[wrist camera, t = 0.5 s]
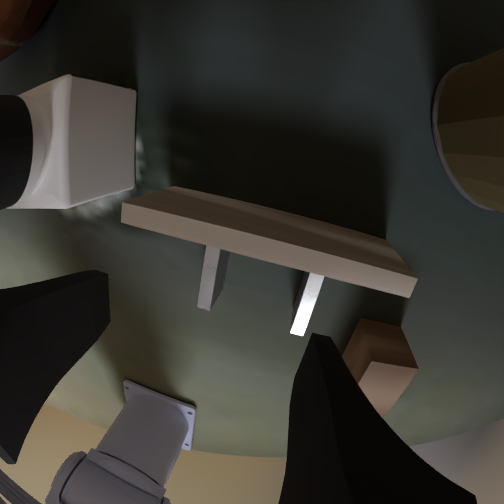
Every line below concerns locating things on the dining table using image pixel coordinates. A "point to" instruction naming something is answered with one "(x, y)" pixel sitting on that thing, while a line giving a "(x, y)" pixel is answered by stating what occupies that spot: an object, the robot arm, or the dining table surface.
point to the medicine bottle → (66, 143)
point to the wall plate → (272, 237)
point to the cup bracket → (215, 280)
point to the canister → (473, 129)
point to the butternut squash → (20, 22)
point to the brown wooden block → (380, 362)
